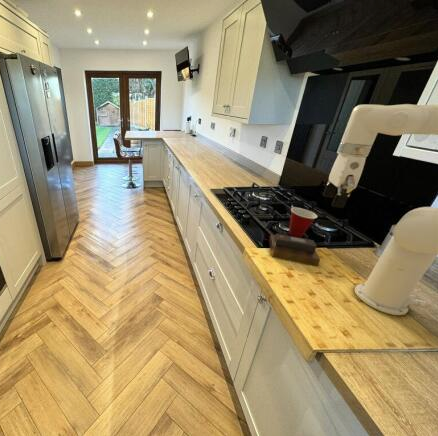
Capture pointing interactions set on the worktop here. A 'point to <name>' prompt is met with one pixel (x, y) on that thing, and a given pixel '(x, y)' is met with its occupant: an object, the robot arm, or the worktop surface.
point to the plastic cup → (300, 221)
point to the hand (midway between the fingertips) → (332, 201)
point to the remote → (295, 243)
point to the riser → (293, 253)
